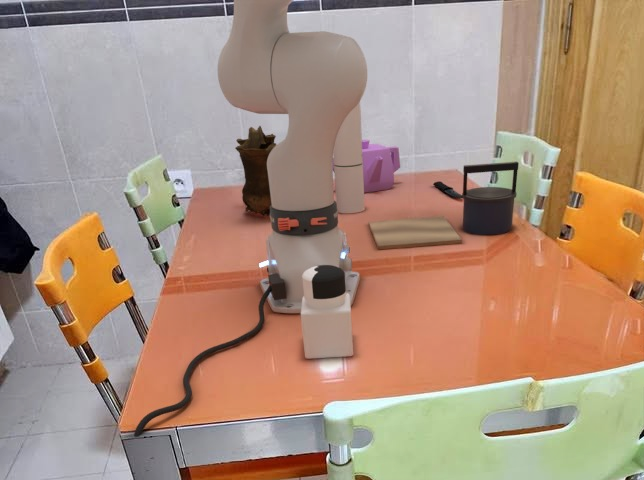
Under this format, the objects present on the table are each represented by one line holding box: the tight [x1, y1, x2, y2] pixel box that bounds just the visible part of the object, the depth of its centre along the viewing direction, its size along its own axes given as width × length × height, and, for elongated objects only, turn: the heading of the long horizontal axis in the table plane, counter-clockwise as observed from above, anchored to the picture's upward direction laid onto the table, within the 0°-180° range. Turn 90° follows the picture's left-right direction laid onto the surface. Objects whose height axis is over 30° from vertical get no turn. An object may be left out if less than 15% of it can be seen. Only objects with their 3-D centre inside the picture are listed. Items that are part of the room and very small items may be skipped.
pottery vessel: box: [234, 125, 277, 217], centre depth 163 cm, size 25×11×20 cm, turn 7°
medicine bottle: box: [300, 265, 354, 360], centre depth 95 cm, size 7×7×12 cm
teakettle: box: [333, 139, 401, 194], centre depth 183 cm, size 17×17×12 cm
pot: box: [461, 161, 520, 236], centre depth 143 cm, size 12×12×13 cm
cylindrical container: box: [333, 101, 366, 214], centre depth 159 cm, size 7×7×25 cm
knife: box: [432, 180, 463, 199], centre depth 175 cm, size 21×1×3 cm
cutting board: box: [368, 215, 463, 250], centre depth 146 cm, size 20×18×1 cm
